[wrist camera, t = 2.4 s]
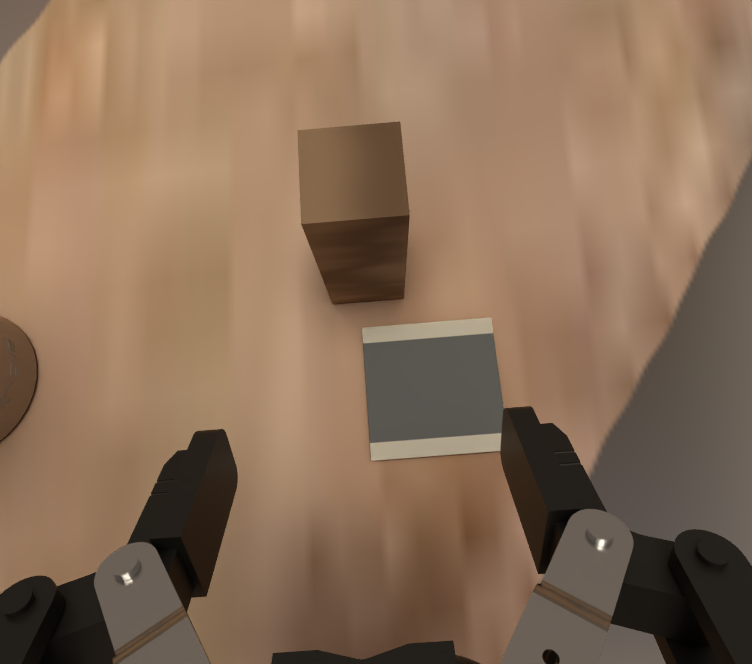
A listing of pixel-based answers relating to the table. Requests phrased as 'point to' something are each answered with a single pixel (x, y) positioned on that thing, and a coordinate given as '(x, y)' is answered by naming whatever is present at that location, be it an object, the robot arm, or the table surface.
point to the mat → (432, 389)
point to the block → (356, 209)
